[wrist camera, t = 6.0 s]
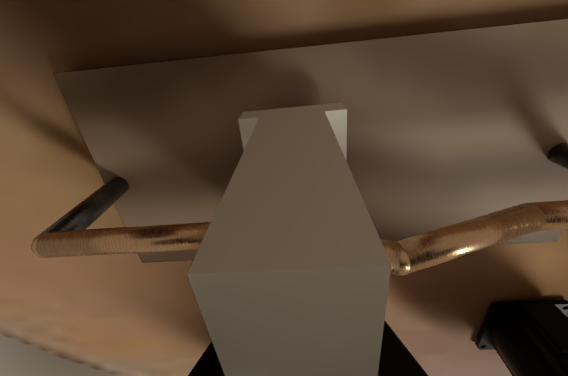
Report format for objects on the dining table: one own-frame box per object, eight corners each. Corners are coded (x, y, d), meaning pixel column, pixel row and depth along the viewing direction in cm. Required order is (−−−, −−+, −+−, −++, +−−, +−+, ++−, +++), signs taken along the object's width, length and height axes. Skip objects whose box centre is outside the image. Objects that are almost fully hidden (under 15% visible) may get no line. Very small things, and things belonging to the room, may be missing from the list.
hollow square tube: (341, 242, 18) (398, 485, 8) (266, 246, 18) (233, 483, 8) (341, 102, 13) (465, 261, 4) (243, 111, 14) (123, 277, 4)
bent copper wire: (565, 161, 16) (801, 266, 9) (115, 192, 18) (-10, 300, 11) (573, 142, 16) (833, 236, 8) (107, 177, 18) (-29, 279, 10)
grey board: (543, 231, 20) (557, 241, 19) (149, 252, 22) (142, 262, 21) (646, 9, 13) (676, 7, 12) (69, 71, 16) (52, 73, 15)
